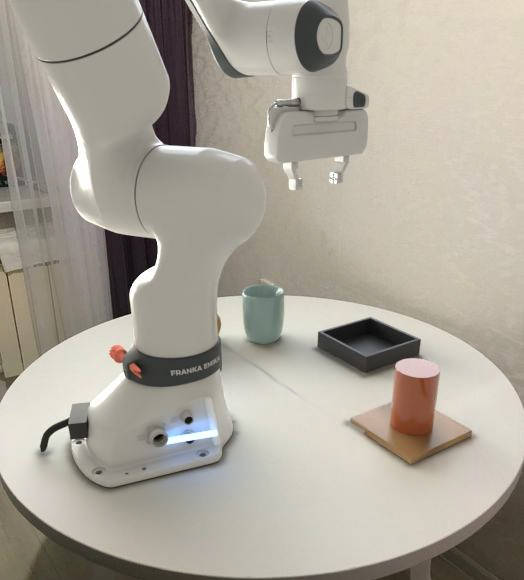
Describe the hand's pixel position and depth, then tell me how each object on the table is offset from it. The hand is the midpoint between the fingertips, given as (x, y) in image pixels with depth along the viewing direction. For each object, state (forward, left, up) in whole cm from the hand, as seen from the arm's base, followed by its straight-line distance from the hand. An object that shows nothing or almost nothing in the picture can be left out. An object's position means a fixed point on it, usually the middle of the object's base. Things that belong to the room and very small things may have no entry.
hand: (316, 186), depth 100 cm
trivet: (-7, -32, -29) cm, 44 cm away
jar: (-7, -32, -28) cm, 43 cm away
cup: (-7, +6, -29) cm, 31 cm away
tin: (+6, -9, -29) cm, 31 cm away
